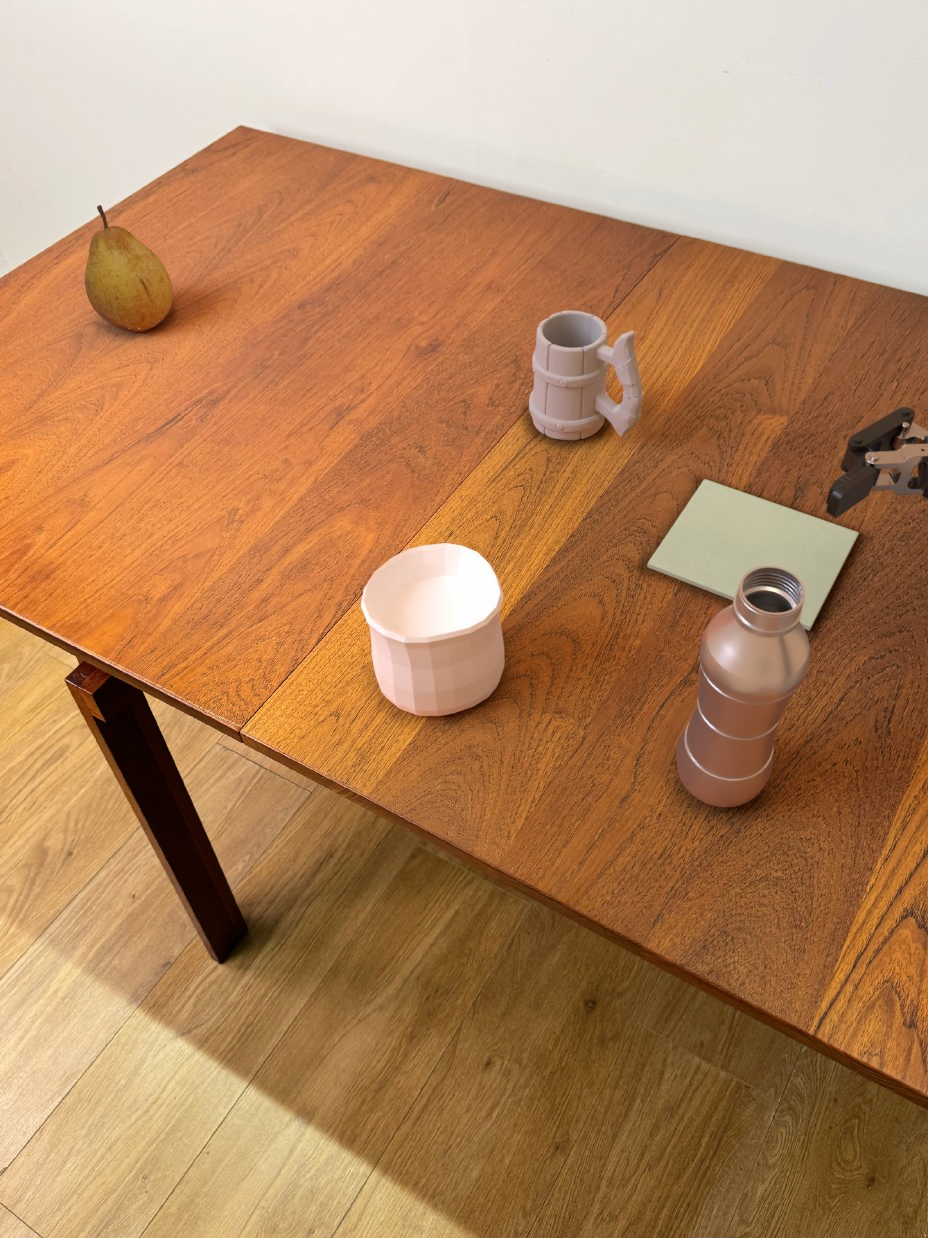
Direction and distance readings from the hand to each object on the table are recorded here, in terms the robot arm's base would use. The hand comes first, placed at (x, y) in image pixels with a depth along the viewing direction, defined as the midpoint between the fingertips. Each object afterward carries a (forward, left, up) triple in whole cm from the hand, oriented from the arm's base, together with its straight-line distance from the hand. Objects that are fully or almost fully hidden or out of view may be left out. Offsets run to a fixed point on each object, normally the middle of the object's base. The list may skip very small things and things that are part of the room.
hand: (887, 541), depth 62 cm
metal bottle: (+4, +11, -16) cm, 20 cm away
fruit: (+82, -12, -16) cm, 85 cm away
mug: (+30, -19, -16) cm, 39 cm away
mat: (+10, -11, -16) cm, 22 cm away
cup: (+26, +13, -16) cm, 33 cm away
